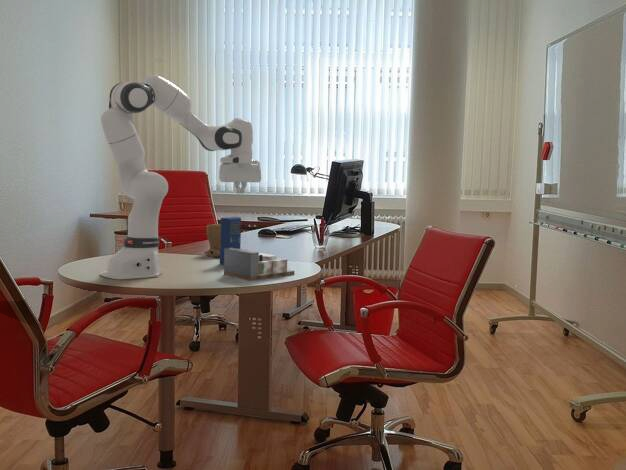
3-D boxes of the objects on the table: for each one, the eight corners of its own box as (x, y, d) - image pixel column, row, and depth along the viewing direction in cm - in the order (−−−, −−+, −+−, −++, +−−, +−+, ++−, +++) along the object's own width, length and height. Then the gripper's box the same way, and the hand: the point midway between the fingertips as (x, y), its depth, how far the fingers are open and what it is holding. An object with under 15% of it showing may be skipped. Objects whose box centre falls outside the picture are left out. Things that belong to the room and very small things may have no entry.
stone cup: (213, 252, 313) (213, 221, 311) (235, 254, 309) (236, 223, 307) (197, 256, 298) (198, 223, 297) (220, 258, 294) (221, 225, 293)
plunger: (269, 273, 250) (270, 257, 250) (249, 268, 258) (249, 253, 257) (280, 271, 255) (281, 255, 254) (259, 267, 262) (260, 252, 262)
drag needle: (261, 261, 246) (261, 255, 246) (259, 261, 247) (259, 254, 246) (262, 261, 246) (262, 255, 246) (260, 260, 247) (260, 254, 247)
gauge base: (250, 280, 242) (250, 263, 241) (223, 275, 252) (224, 258, 251) (294, 274, 260) (294, 258, 259) (268, 269, 270) (268, 253, 269)
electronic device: (228, 265, 276) (229, 218, 273) (218, 264, 278) (219, 217, 276) (241, 263, 284) (242, 217, 282) (231, 261, 286) (232, 216, 284)
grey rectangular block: (250, 277, 242) (251, 253, 241) (223, 271, 252) (224, 248, 251) (258, 275, 245) (258, 252, 244) (231, 270, 255) (232, 247, 254)
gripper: (254, 160, 273) (253, 192, 275) (217, 158, 258) (216, 193, 260) (265, 160, 269) (264, 193, 271) (227, 158, 254) (226, 194, 256)
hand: (240, 193), depth 265 cm, fingers closed
